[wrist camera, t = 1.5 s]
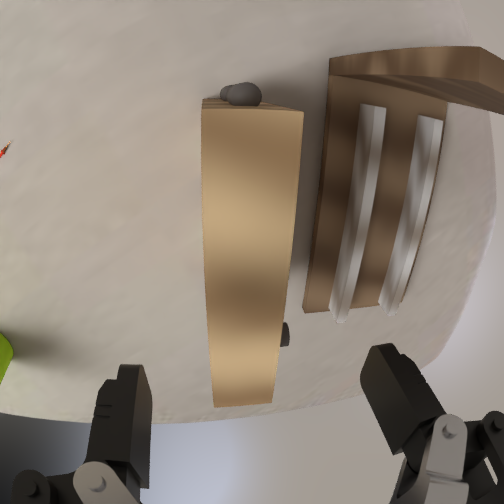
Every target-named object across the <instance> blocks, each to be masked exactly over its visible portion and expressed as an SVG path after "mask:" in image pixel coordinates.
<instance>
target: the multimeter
mask: <svg viewBox="0 0 504 504" xmlns="http://www.w3.org/2000/svg"><path fill="white" fill-rule="evenodd" d="M9 143H10V142H9ZM9 143H8V144H9ZM8 144H7V146H8ZM7 146H6V147H5V148H4V149H3V150H1V154H0V158H1V156H2V154H5V150H6V148H7Z"/></svg>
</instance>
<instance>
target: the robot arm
mask: <svg viewBox="0 0 504 504" xmlns="http://www.w3.org/2000/svg"><path fill="white" fill-rule="evenodd" d="M360 382H361V387H362V389H363V391H364V393H365V395H366V397H367V399H368V402H369V404H370V406H371V408H372V410H373V412H374V414H375V416H376V419H377V420H378V423H379V425H380V427H381V430H382V432H383V434H384V436H385V438H386V440H387V443H388V445H389V447H390V449H391V452H392V454H393V455H395V454H398V453H402V452H404V454H405V456H406V457H405V458H404V460H403V463H402V466H401V470H400V473H399V476H398V480H397V483H396V486H395V489H394V492H393V496H392V498H391V501H390V503H389V504H504V414H503V413H501V412H499V411H491V412H489V413H488V414H487V415H486V416H485V417H484V418H483V419H482V420H479V421H468V422H463V420H462V419H460V418H459V417H457V416H455V415H452V414H447V413H446V412H445V411H444V409H443V408H442V406H441V404H440V402H439V401H438V399H437V398H436V396H435V394H434V393H433V391H432V389H431V388H430V386H429V385H428V383H426V380H425V378H424V377H423V375H421V372H420V370H419V369H418V367H417V366H416V364H415V363H414V362H413V361H412V360H411V359H410V358H408V357H407V356H406V355H405V354H401V355H400V353H399V352H398V350H397V349H396V347H395V346H394V345H393V344H392V343H387V344H381V345H376V346H372V347H371V348H370V350H369V353H368V356H367V358H366V361H365V363H364V366H363V368H362V371H361V374H360ZM151 421H152V395H151V390H150V387H149V384H148V381H147V377H146V374H145V371H144V367H143V365H129V364H121V365H120V366H119V370H118V375H117V380H111V379H107V380H106V381H105V382H104V384H103V385H102V387H101V388H100V389H99V391H98V395H97V400H96V407H95V410H94V418H93V420H92V426H91V431H90V437H89V443H88V449H87V456H86V459H85V461H84V463H83V464H82V465H81V466H80V467H79V468H78V469H77V470H76V471H74V472H72V473H69V474H63V475H56V476H47V477H45V476H44V475H42V474H41V473H40V472H38V471H35V470H24V471H22V472H20V473H19V474H18V475H17V476H16V477H15V479H14V481H13V487H12V494H11V502H10V504H142V503H141V501H140V488H147V489H149V469H150V467H149V466H150V440H151ZM486 457H488V459H489V461H490V463H491V465H492V467H493V470H494V472H495V474H496V476H497V479H498V482H497V485H496V484H495V483H494V481H493V478H492V476H491V474H490V472H489V470H488V468H487V466H486V464H485V461H484V459H485V458H486Z"/></svg>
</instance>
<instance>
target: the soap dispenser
mask: <svg viewBox="0 0 504 504" xmlns="http://www.w3.org/2000/svg"><path fill="white" fill-rule="evenodd" d="M12 357H13V349H12V346H11V344H10V343H9V342H8V340H7V339H6V338H5V337H4V336H3V335H2V334H1V333H0V384H1V382H2V379H3V377H4V375H5V373H6V370H7V368H8V366H9V364H10V361H11V359H12Z"/></svg>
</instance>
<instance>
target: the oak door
mask: <svg viewBox="0 0 504 504" xmlns="http://www.w3.org/2000/svg"><path fill="white" fill-rule="evenodd" d="M220 97H221V99H203V101H202V110H201V172H202V221H203V250H204V273H205V293H206V310H207V326H208V341H209V354H210V367H211V379H212V390H213V401H214V408H215V407H231V406H243V405H254V404H264V403H272V397H273V391H274V384H275V377H276V370H277V363H278V356H279V349H280V347H283V346H288V345H289V340H290V335H289V328H288V325H287V323H286V322H284V323H283V319H284V311H285V303H286V295H287V287H288V278H289V270H290V261H291V252H292V242H293V233H294V223H295V213H296V203H297V192H298V181H299V169H300V157H301V145H302V132H303V118H304V112H302V111H299V110H295V109H290V108H286V107H282V106H278V105H274V104H269V103H264V102H261V99H262V94H261V91H260V89H259V88H258V87H257V86H256V85H255V84H253V83H249V82H244V83H239V84H235V85H230V86H226V87H224V88H223V89H222V90H221V92H220Z"/></svg>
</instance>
